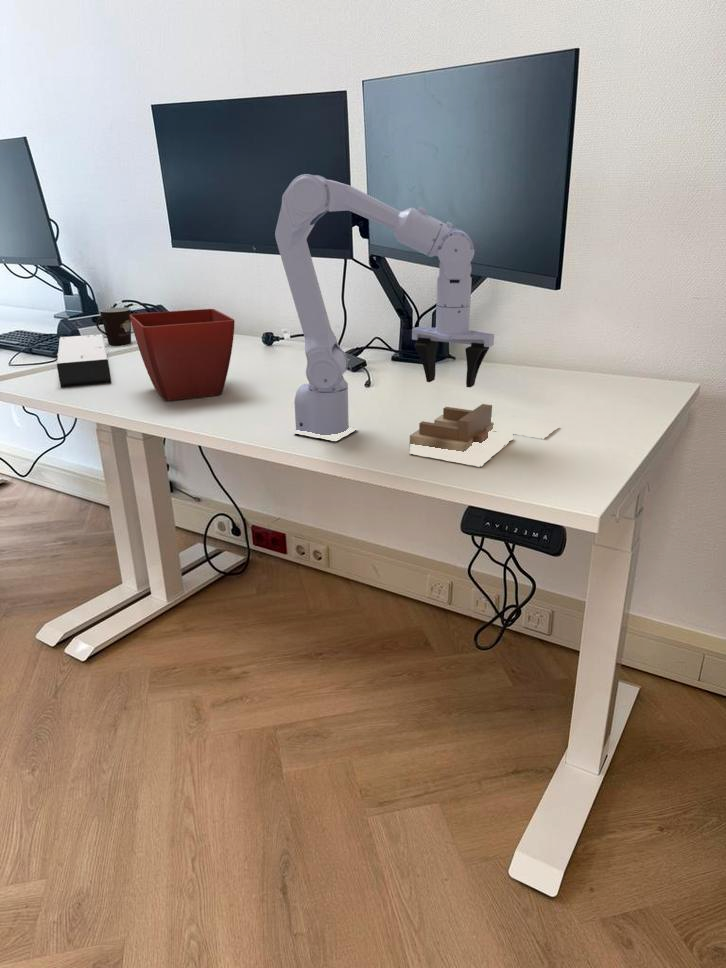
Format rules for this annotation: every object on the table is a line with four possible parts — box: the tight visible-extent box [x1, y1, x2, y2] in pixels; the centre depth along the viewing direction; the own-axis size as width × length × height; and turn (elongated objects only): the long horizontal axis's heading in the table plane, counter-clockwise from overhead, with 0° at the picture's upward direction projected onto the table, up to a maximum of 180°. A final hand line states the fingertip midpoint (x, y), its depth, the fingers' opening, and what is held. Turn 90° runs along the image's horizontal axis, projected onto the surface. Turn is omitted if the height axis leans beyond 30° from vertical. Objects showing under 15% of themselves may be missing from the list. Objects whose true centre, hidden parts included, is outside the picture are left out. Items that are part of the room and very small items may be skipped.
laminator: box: [56, 333, 112, 388], centre depth 179 cm, size 34×12×6 cm, turn 21°
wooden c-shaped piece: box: [418, 403, 493, 442], centre depth 122 cm, size 9×11×4 cm
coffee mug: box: [95, 307, 132, 347], centre depth 208 cm, size 12×9×10 cm
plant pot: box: [130, 308, 235, 402], centre depth 156 cm, size 19×19×17 cm
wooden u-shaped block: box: [409, 414, 494, 452], centre depth 123 cm, size 14×16×3 cm
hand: (450, 383), depth 125 cm, fingers open, 7 cm apart
